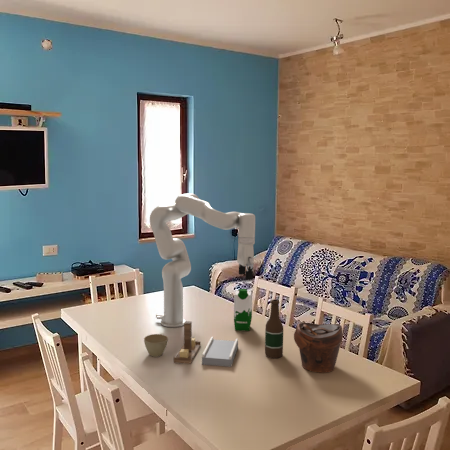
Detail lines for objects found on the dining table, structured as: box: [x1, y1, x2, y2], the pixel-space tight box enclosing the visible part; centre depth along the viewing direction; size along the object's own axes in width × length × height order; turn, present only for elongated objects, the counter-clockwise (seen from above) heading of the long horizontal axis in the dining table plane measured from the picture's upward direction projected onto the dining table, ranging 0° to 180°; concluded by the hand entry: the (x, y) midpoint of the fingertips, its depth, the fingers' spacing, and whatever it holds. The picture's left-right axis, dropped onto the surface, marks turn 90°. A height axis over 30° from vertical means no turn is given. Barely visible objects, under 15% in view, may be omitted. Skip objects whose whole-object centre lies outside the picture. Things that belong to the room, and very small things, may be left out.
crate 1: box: [179, 348, 189, 358], centre depth 199 cm, size 3×3×3 cm
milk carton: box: [233, 288, 253, 332], centre depth 236 cm, size 9×9×20 cm
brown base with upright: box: [173, 320, 201, 365], centre depth 205 cm, size 19×7×14 cm, turn 171°
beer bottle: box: [264, 299, 284, 359], centre depth 204 cm, size 8×8×24 cm
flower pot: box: [143, 333, 169, 358], centre depth 204 cm, size 10×10×7 cm
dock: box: [201, 336, 239, 368], centre depth 204 cm, size 12×20×4 cm, turn 171°
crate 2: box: [191, 337, 196, 347], centre depth 211 cm, size 3×3×3 cm
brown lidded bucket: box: [293, 322, 344, 374], centre depth 194 cm, size 18×20×18 cm
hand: (245, 276), depth 224 cm, fingers open, 9 cm apart
